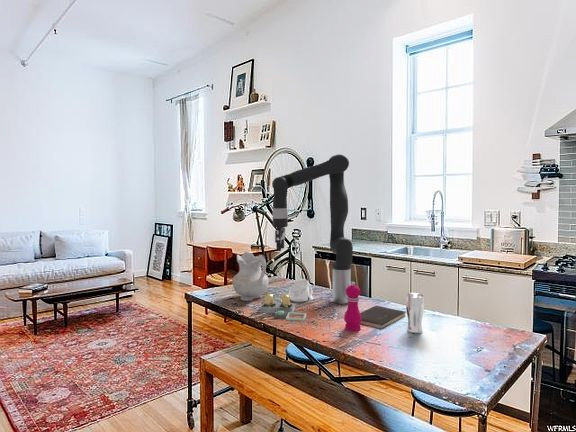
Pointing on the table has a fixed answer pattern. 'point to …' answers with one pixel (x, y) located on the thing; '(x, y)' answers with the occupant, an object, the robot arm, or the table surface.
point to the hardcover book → (380, 316)
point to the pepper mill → (352, 308)
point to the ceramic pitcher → (250, 277)
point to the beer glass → (415, 312)
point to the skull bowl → (300, 291)
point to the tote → (296, 318)
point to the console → (280, 315)
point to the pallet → (276, 308)
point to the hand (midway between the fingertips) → (280, 249)
